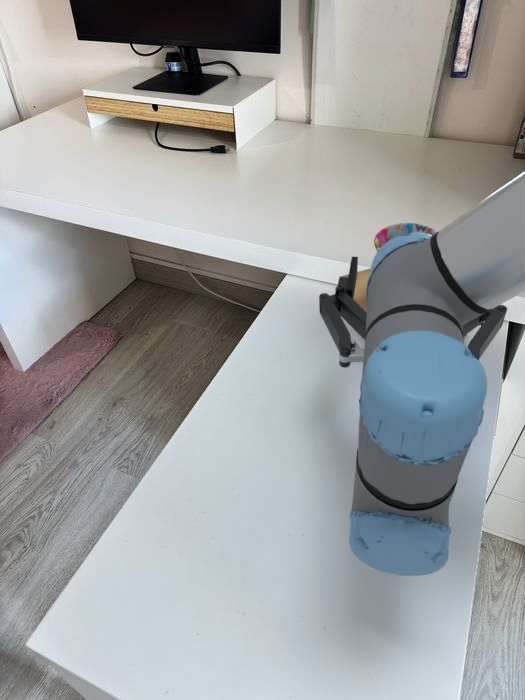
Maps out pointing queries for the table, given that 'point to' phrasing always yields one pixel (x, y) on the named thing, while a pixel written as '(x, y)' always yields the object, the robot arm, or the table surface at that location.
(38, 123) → the table surface
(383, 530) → the robot arm
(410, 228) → the mug
